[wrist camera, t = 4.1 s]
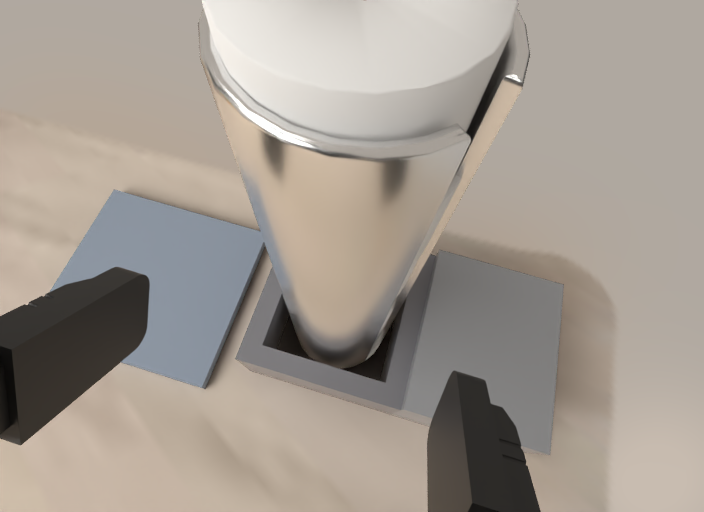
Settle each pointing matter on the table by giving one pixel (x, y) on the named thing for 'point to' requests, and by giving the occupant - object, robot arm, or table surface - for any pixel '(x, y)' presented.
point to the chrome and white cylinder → (358, 141)
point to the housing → (440, 346)
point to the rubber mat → (173, 278)
